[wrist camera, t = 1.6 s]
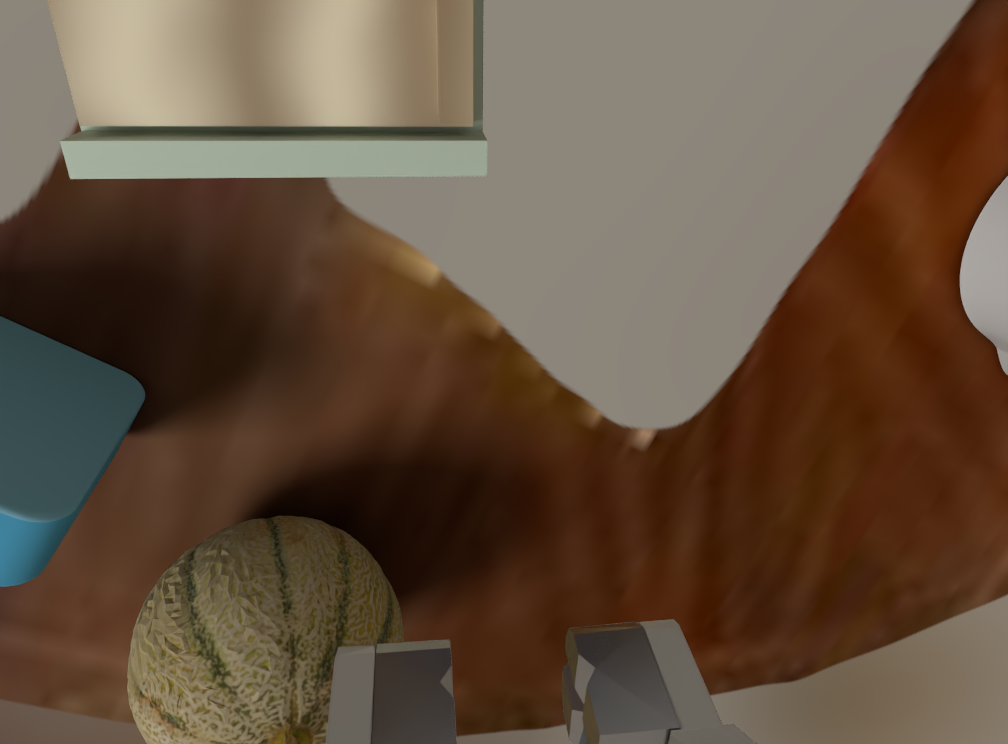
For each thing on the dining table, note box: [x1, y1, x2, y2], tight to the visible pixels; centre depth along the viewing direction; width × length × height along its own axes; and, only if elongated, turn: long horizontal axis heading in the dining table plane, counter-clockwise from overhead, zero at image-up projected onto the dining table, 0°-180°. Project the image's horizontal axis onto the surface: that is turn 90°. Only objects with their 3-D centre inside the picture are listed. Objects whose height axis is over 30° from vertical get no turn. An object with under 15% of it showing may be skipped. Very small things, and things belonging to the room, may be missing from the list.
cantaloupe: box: [127, 516, 404, 744], centre depth 39 cm, size 15×15×15 cm
